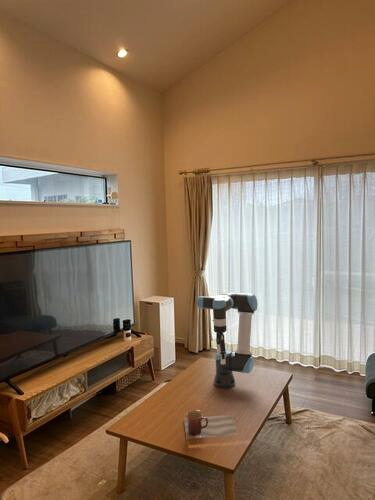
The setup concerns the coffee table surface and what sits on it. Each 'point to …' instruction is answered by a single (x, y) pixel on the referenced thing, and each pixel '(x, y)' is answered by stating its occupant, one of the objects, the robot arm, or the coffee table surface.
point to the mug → (195, 422)
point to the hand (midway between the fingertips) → (221, 359)
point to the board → (214, 427)
